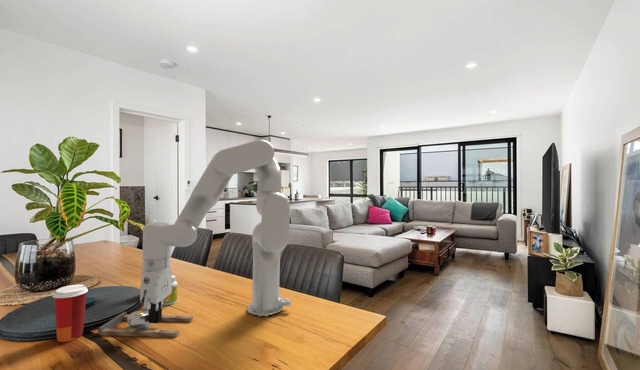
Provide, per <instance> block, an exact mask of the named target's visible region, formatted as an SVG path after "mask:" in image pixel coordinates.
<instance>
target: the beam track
mask: <svg viewBox="0 0 640 370" xmlns="http://www.w3.org/2000/svg"><path fill="white" fill-rule="evenodd" d="M128 315H129V314H127V311H124V312H122V313H120V314H118V315H117V316H115V317H113V318H112V319H110V320H109V321H108V322H105V323H104V324H103V325H101V326H100V327H98V328H97V336H111V337H112V336H114V337H115V336H116V337H119V336H121V337H150V338H151V337H152V338H153V337H159V338H160V337H161V338H178V336H179V335H180V330H175V329H174V330H171V329H169V330H168V329H167V330H166V329H165V330H164V329H160V328H157V329H145V330H139V329H135V328H128V329H127V328H114V327H116V326H117V325H119V324H121V323H122V322H123V321H128ZM193 321H194V316H193V315H177V314H173V315H163V314H162V320H161V321H160V322H172V323H175V322H177V323H178V322H180V323H192V322H193Z"/></svg>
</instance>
